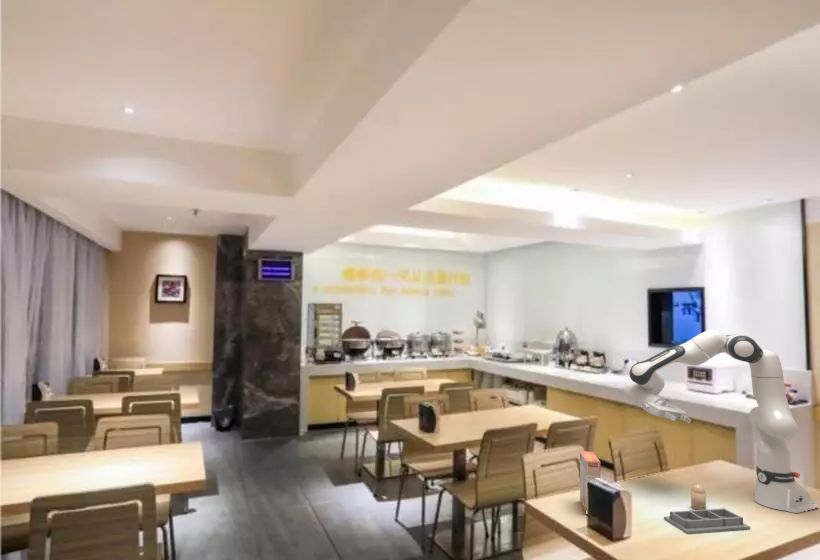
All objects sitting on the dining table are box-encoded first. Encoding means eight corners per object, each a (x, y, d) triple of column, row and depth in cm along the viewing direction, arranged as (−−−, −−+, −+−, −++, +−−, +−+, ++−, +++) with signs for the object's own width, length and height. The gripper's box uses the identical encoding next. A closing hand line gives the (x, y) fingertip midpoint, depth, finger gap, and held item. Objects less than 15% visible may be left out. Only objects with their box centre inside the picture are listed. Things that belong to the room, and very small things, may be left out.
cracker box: (601, 516, 182) (601, 461, 184) (585, 515, 184) (584, 460, 185) (595, 502, 196) (594, 451, 198) (579, 501, 197) (579, 450, 199)
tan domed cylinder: (699, 505, 194) (698, 482, 195) (709, 511, 189) (708, 486, 190) (688, 506, 193) (687, 482, 194) (697, 511, 188) (697, 487, 189)
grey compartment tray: (723, 515, 185) (723, 506, 185) (750, 529, 173) (749, 519, 174) (664, 519, 181) (663, 510, 181) (687, 534, 169) (687, 524, 169)
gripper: (642, 396, 209) (670, 411, 197) (671, 401, 218) (699, 416, 206) (637, 409, 210) (664, 425, 197) (666, 413, 219) (694, 429, 206)
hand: (682, 420), depth 202 cm, fingers open, 8 cm apart
